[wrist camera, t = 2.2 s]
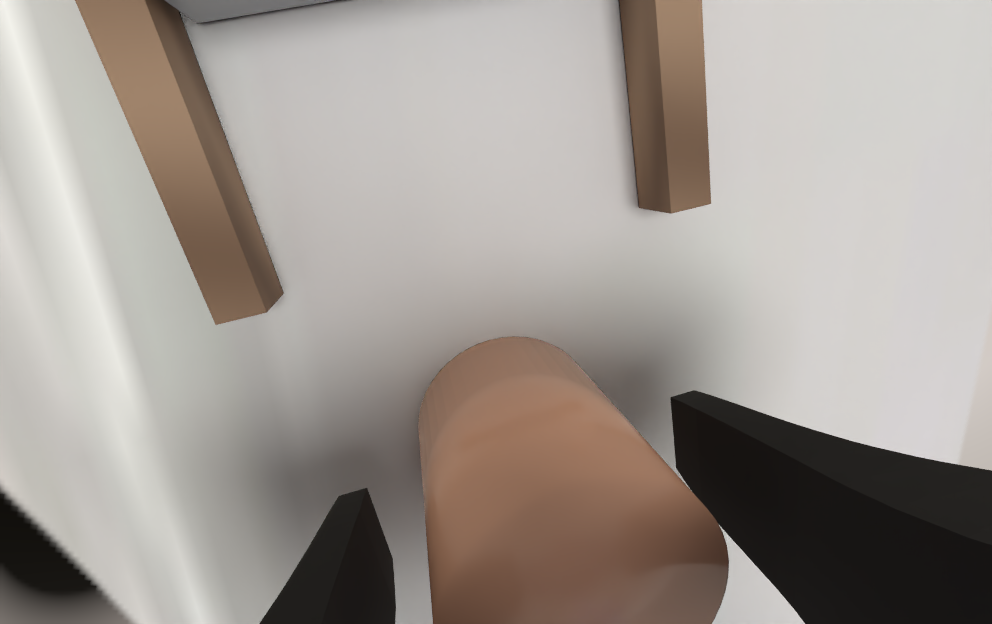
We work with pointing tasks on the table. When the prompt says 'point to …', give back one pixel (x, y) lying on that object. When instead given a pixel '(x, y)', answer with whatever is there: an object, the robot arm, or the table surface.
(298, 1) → the plate
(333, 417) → the table surface
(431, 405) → the terracotta jar
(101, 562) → the table surface
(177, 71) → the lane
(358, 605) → the robot arm
